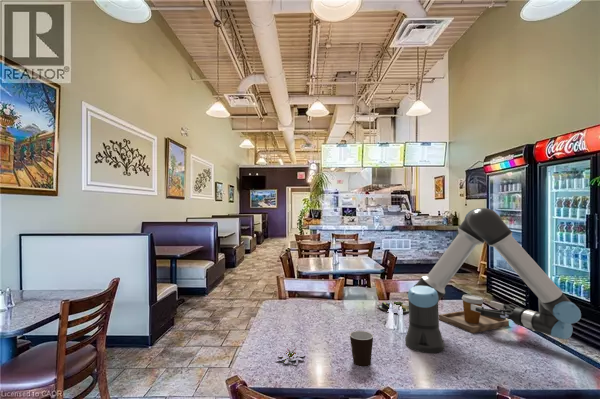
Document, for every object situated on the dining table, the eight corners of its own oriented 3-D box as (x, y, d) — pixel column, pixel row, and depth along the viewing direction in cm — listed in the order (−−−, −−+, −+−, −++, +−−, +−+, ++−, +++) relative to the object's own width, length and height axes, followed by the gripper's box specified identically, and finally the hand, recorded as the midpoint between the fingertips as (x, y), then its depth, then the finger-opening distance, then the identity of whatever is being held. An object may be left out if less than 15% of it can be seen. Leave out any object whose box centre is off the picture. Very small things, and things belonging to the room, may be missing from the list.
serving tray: (472, 333, 141) (472, 327, 142) (438, 319, 160) (438, 314, 160) (508, 325, 150) (508, 320, 150) (472, 313, 169) (472, 309, 169)
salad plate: (390, 302, 193) (390, 295, 193) (418, 308, 180) (418, 300, 180) (373, 309, 179) (373, 301, 180) (401, 316, 166) (401, 308, 167)
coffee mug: (369, 370, 109) (368, 341, 109) (346, 364, 113) (346, 336, 114) (379, 357, 119) (378, 331, 119) (358, 352, 123) (357, 326, 124)
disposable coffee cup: (480, 319, 157) (481, 295, 157) (484, 326, 148) (485, 301, 148) (459, 316, 160) (460, 293, 160) (462, 322, 151) (463, 298, 151)
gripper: (506, 331, 128) (463, 316, 147) (545, 323, 137) (499, 309, 157) (505, 313, 128) (462, 300, 148) (544, 306, 137) (498, 294, 157)
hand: (481, 305), depth 152 cm, fingers open, 13 cm apart
